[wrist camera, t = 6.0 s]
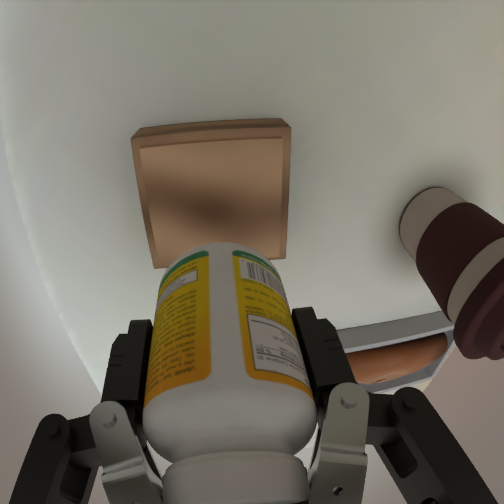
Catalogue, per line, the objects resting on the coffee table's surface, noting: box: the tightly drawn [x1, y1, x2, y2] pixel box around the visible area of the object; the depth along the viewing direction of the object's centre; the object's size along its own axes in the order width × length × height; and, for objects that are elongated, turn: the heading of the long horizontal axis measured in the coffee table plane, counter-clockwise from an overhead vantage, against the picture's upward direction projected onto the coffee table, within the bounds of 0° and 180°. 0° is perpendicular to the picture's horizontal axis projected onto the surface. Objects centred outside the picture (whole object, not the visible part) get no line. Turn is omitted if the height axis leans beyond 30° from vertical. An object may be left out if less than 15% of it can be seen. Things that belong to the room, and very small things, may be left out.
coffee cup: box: [400, 188, 504, 360], centre depth 22 cm, size 10×10×15 cm
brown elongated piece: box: [345, 332, 448, 385], centre depth 37 cm, size 18×7×7 cm
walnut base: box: [131, 119, 291, 269], centre depth 23 cm, size 10×10×4 cm
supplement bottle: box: [143, 242, 317, 504], centre depth 10 cm, size 5×5×10 cm
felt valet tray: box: [336, 311, 455, 394], centre depth 38 cm, size 13×23×3 cm, turn 91°
